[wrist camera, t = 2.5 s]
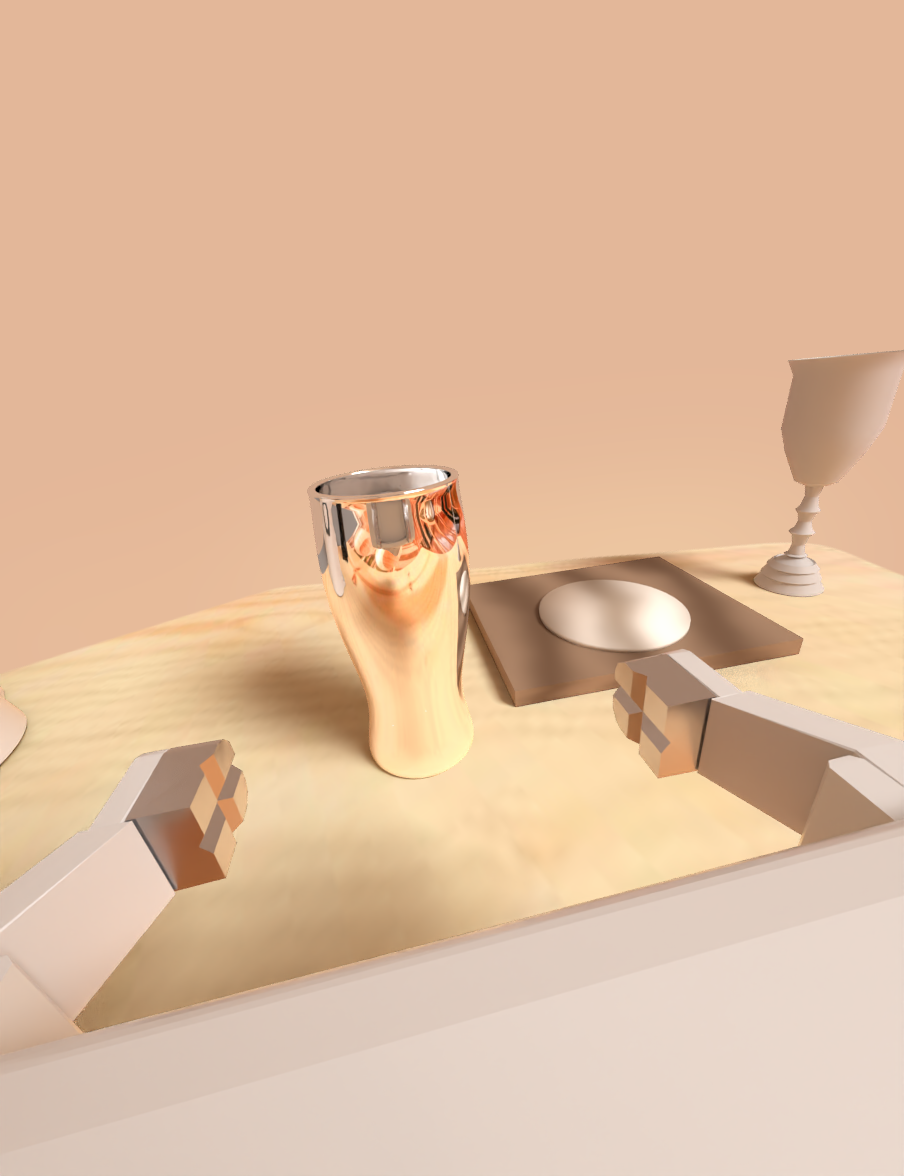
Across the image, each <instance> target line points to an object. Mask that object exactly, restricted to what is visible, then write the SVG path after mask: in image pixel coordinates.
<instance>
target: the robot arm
mask: <svg viewBox="0 0 904 1176" xmlns="http://www.w3.org/2000/svg"><path fill="white" fill-rule="evenodd" d="M614 679H615V680H616V681H617V682H618V683H619V685H620V687H619V688H618V689H617V691H616V692H615V694H614V695H613V710H614V714H615V718H616V721H617V723H618V725H619V727H620V729H621V731H622V732H623V733H624V735H625V736H626V737H627V738H628V739H630V740H632V741H634V742H636V743H638V744H640V745H639V755H640V756H641V757H642V758H643V760H644V761H645V762H646V764H647V765H648V766H649V768H650V769H651V770H652V771H653V773H654V774H655V775H656V777H657V778H662V777H667V776H672V775H677V774H682V773H688V772H693V771H698V772H697V773H699V774H701V775H702V776H704V777H706V778H707V779H709V780H711V781H712V782H714V783H716V784H717V785H719V786H721V787H722V788H724V789H726V790H727V791H729V792H731V793H732V794H734V795H736V796H737V797H739V798H741V799H742V800H744V801H746V802H747V803H749V804H751V805H752V806H754V807H756V808H757V809H759V810H761V811H762V812H764V813H766V814H767V815H769V816H771V817H772V818H774V819H776V820H777V821H779V822H781V823H782V824H784V825H786V826H787V827H789V828H791V829H792V830H794V831H796V832H797V833H799V834H801V835H802V836H801V839H800V842H799V844H798V846H797V847H793V848H790V849H786V850H782V851H778V852H774V853H770V854H767V855H763V856H759V857H755V858H751V859H747V860H744V861H740V862H736V863H732V864H728V865H725V866H721V867H717V868H713V869H709V870H705V871H702V872H698V873H694V874H690V875H686V876H683V877H679V878H675V879H671V880H667V881H664V882H660V883H656V884H652V885H648V886H645V887H641V888H637V889H633V890H629V891H626V892H622V893H618V894H614V895H610V896H607V897H603V898H599V899H595V900H591V901H587V902H584V903H580V904H576V905H572V906H568V907H565V908H561V909H557V910H553V911H549V912H546V913H542V914H538V915H534V916H530V917H527V918H523V919H519V920H515V921H511V922H507V923H504V924H500V925H496V926H492V927H488V928H485V929H481V930H477V931H473V932H469V933H465V934H462V935H458V936H454V937H450V938H446V939H442V940H439V941H435V942H431V943H427V944H423V945H420V946H416V947H412V948H408V949H404V950H400V951H397V952H393V953H389V954H385V955H381V956H377V957H374V958H370V959H366V960H362V961H358V962H354V963H351V964H347V965H343V966H339V967H335V968H332V969H328V970H324V971H320V972H316V973H312V974H309V975H305V976H301V977H297V978H293V979H289V980H286V981H282V982H278V983H274V984H270V985H267V986H263V987H259V988H255V989H251V990H247V991H244V992H240V993H236V994H232V995H228V996H225V997H221V998H217V999H213V1000H209V1001H205V1002H202V1003H198V1004H194V1005H190V1006H186V1007H182V1008H179V1009H175V1010H171V1011H167V1012H163V1013H160V1014H156V1015H152V1016H148V1017H144V1018H140V1019H137V1020H133V1021H129V1022H125V1023H121V1024H117V1025H114V1026H110V1027H106V1028H102V1029H98V1030H95V1031H91V1032H87V1033H83V1031H82V1030H81V1029H80V1028H79V1027H78V1026H77V1025H76V1024H75V1023H74V1022H73V1021H74V1020H75V1019H76V1017H77V1016H78V1015H79V1014H80V1012H81V1011H82V1010H83V1009H84V1007H85V1006H86V1005H87V1004H88V1002H89V1001H90V1000H91V999H92V997H93V996H94V995H95V994H96V992H97V991H98V990H99V989H100V987H101V986H102V985H103V984H104V982H105V981H106V980H107V979H108V978H109V976H110V975H111V974H112V973H113V971H114V970H115V969H116V968H117V966H118V965H119V964H120V963H121V961H122V960H123V959H124V958H125V956H126V955H127V954H128V953H129V951H130V950H131V949H132V948H133V946H134V945H135V944H136V943H137V941H138V940H139V939H140V938H141V936H142V935H143V934H144V933H145V931H146V930H147V929H148V928H149V926H150V925H151V924H152V923H153V922H154V920H155V919H156V918H157V917H158V915H159V914H160V913H161V912H162V910H163V909H164V908H165V907H166V905H167V904H168V903H169V902H170V900H171V899H172V898H173V897H174V895H175V891H178V890H182V889H185V888H189V887H193V886H197V885H201V884H205V883H209V882H212V881H216V880H220V879H224V878H226V876H227V873H228V870H229V866H230V863H231V860H232V857H233V853H234V850H235V847H236V843H237V842H236V840H235V838H234V836H233V833H232V832H233V831H234V830H235V829H236V828H237V827H238V826H239V825H240V824H241V823H242V822H243V820H244V816H245V813H246V809H247V796H248V790H247V785H246V780H245V777H244V774H243V772H242V770H240V769H238V768H237V767H235V766H233V765H231V764H232V761H233V758H234V755H235V753H234V751H233V749H232V746H231V744H230V742H229V741H227V740H224V739H222V740H216V741H210V742H205V743H199V744H193V745H187V746H181V747H176V748H171V749H166V750H160V751H155V752H149V753H144V754H142V755H140V756H138V757H137V758H135V760H134V761H133V762H132V764H131V766H130V767H129V769H128V770H127V772H126V773H125V775H124V776H123V778H122V779H121V781H120V782H119V784H118V785H117V787H116V788H115V790H114V791H113V793H112V794H111V796H110V797H109V799H108V801H107V802H106V804H105V805H104V807H103V808H102V810H101V811H100V813H99V814H98V816H97V817H96V819H95V820H94V822H93V823H92V825H91V826H90V828H89V829H88V830H85V831H81V832H78V833H76V834H75V835H74V836H73V837H71V838H70V839H69V840H67V841H66V842H65V843H63V844H62V845H61V846H60V847H58V848H57V849H56V850H54V851H53V852H52V853H50V854H49V855H48V856H47V857H45V858H44V859H43V860H41V861H40V862H39V863H37V864H36V865H35V866H34V867H32V868H31V869H30V870H28V871H27V872H26V873H24V874H23V875H22V876H21V877H19V878H18V879H17V880H15V881H14V882H13V883H11V884H10V885H9V886H8V887H6V888H5V889H4V890H2V891H1V892H0V1176H904V741H902V740H899V739H896V738H893V737H890V736H887V735H884V734H880V733H877V732H874V731H871V730H868V729H865V728H862V727H859V726H856V725H853V724H850V723H847V722H844V721H841V720H838V719H834V718H831V717H828V716H825V715H822V714H819V713H816V712H813V711H810V710H807V709H804V708H801V707H798V706H795V705H792V704H788V703H785V702H782V701H779V700H776V699H773V698H770V697H767V696H764V695H761V694H758V693H755V692H752V691H746V692H742V691H740V690H739V689H738V688H737V687H735V686H734V685H733V684H732V683H730V682H729V681H728V680H726V679H725V678H724V677H723V676H721V675H720V674H719V673H717V672H716V671H715V670H714V669H712V668H711V667H710V666H708V665H707V664H706V663H705V662H703V661H702V660H701V659H699V658H698V657H697V656H696V655H694V654H693V653H692V652H690V651H688V650H685V649H680V650H675V651H671V652H666V653H662V654H661V655H655V656H650V657H645V658H640V659H635V660H630V661H625V662H620V663H618V664H617V666H616V669H615V678H614ZM26 725H27V719H26V716H25V714H24V713H23V712H22V711H21V710H20V709H18V708H17V707H16V706H14V705H13V704H12V703H10V702H9V701H8V700H6V699H5V698H4V690H3V689H2V688H1V687H0V764H1V763H2V762H3V761H4V760H5V759H6V758H7V757H8V756H9V754H10V753H11V752H12V751H13V750H14V748H15V747H16V746H17V744H18V743H19V741H20V740H21V738H22V736H23V734H24V732H25V729H26Z"/></svg>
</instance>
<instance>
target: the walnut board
mask: <svg viewBox="0 0 904 1176" xmlns="http://www.w3.org/2000/svg"><path fill="white" fill-rule="evenodd" d="M469 608H470V610H471V612H472V614H473V617H474V619H475V621H476V623H477V625H478V627H479V629H480V632H481V634H482V636H483V638H484V640H485V642H486V644H487V647H488V649H489V651H490V653H491V655H492V657H493V659H494V662H495V664H496V666H497V668H498V670H499V672H500V674H501V677H502V679H503V681H504V683H505V685H506V687H507V690H508V692H509V694H510V696H511V698H512V700H513V702H514V705H515V707H518V706H523V705H528V704H534V703H539V702H544V701H549V700H555V699H560V698H565V697H571V696H576V695H581V694H587V693H592V692H597V691H603V690H608V689H613V688H619V687H620V685H619V683H618V682H617V681H616V680H615V679H614V678H615V669H616V666H617V664H618V663H620V662H625V661H630V660H635V659H640V658H645V657H650V656H655V655H661V654H662V653H666V652H671V651H675V650H680V649H685V650H688V651H690V652H692V653H693V654H694V655H696V656H697V657H698V658H699V659H701V660H702V661H703V662H705V663H706V664H707V665H708V666H710V667H711V668H712V669H720V668H725V667H730V666H735V665H741V664H746V663H751V662H757V661H762V660H767V659H773V658H778V657H783V656H789V655H794V654H799V651H800V648H801V645H802V642H803V638H802V637H800V636H798V635H796V634H794V633H793V632H791V631H789V630H787V629H786V628H784V627H782V626H780V625H779V624H777V623H775V622H773V621H772V620H770V619H768V618H766V617H764V616H763V615H761V614H759V613H757V612H756V611H754V610H752V609H750V608H749V607H747V606H745V605H743V604H742V603H740V602H738V601H736V600H734V599H733V598H731V597H729V596H727V595H726V594H724V593H722V592H720V591H719V590H717V589H715V588H713V587H712V586H710V585H708V584H706V583H704V582H703V581H701V580H699V579H697V578H696V577H694V576H692V575H690V574H689V573H687V572H685V571H683V570H682V569H680V568H678V567H676V566H674V565H673V564H671V563H669V562H667V561H666V560H664V559H662V558H660V557H654V558H647V559H640V560H634V561H627V562H620V563H614V564H607V565H600V566H594V567H587V568H580V569H574V570H567V571H560V572H554V573H547V574H540V575H534V576H527V577H520V578H514V579H507V580H501V581H494V582H487V583H481V584H474V585H470V601H469Z"/></svg>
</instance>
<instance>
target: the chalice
mask: <svg viewBox="0 0 904 1176" xmlns="http://www.w3.org/2000/svg"><path fill="white" fill-rule="evenodd" d="M789 364H790V367H791V370H792V373H793V379H792V384H791V388H790V392H789V397H788V402H787V405H786V410H785V415H784V419H783V423H782V427H781V430H782V436H783V443H784V449H785V453H786V457H787V460H788V463H789V466H790V469H791V472H792V475H793V478H794V480H795V481H796V482H798V483H800V484H803V485H805V497H804V499H803V500H802V502H801V504H800V506H799V507H797V508H796V511H797V513H798V522H797V523H796V525H795V527H793V528H791V529H790V530H789V532H790V533H791V534H792V545H791V547H790V549H789V550H788V551H786V552H784V554H780V555H776V556H774V557H772V558H771V559H769V560H768V561H767V564H766V565H765V566H764V567H762V569H761V572H760V573H758V574H757V575H756V576H755V577H754V579H753V580H754V582H755V584H757V585H758V586H759V587H761V588H763V589H766V590H768V591H771V592H775V593H778V594H783V595H789V596H800V597H802V596H814V595H819V594H821V593H822V592H824V587H823V585H822V583H821V579H822V577H821V575H820V573H819V570H820V568H819V567H818V565H817V564H816V562H815V561H814V560H812V559H810V558H808V557H807V556H808V555H807V554H806V553H805V544H806V542H807V540H808V538H809V537H810V536H812V535H813V534H815V531H813V529H812V520H813V518H814V517H815V515H816V514H817V513H818V512H820V509H819V507H818V501H819V500H818V499H819V494H820V493H821V491H822V489H823V487H824V486H828V485H831V484H834V483H837V482H839V481H840V480H841V479H842V478H843V477H844V475H845V474H846V473H847V472H848V471H849V470H850V469H851V468H852V467H853V466H854V465H855V464H856V462H858V460H859V459H860V458H861V457H862V456H863V455H864V454H865V453H866V451H867V450H868V449H869V447H870V446H871V445H872V443H873V442H874V441H875V439H876V438H877V436H878V435H879V434H880V432H881V431H882V430H883V428H884V427H885V424H886V421H887V418H888V415H889V412H890V409H891V406H892V403H893V400H894V397H895V394H896V391H897V388H898V384H899V381H900V378H901V375H902V372H903V369H904V350H902V351H889V352H877V353H864V354H853V355H841V356H829V357H818V358H809V359H808V358H807V359H797V360H789Z"/></svg>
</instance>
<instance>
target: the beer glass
mask: <svg viewBox="0 0 904 1176" xmlns="http://www.w3.org/2000/svg"><path fill="white" fill-rule="evenodd" d="M307 492H308V495H309V500H310V506H311V512H312V520H313V528H314V535H315V542H316V548H317V555H318V560H319V565H320V570H321V575H322V581H323V584H324V588H325V592H326V596H327V599H328V603H329V607H330V610H331V612H332V615H333V618H334V620H335V623H336V625H337V628H338V631H339V633H340V636H341V638H342V640H343V642H344V645H345V647H346V649H347V651H348V654H349V656H350V658H351V660H352V662H353V665H354V667H355V669H356V671H357V673H358V676H359V678H360V681H361V683H362V685H363V688H364V691H365V694H366V698H367V702H368V708H369V747H370V752H371V754H372V757H373V758H374V760H375V762H376V763H377V764H378V765H379V766H380V767H381V768H382V769H383V770H385V771H387V772H388V773H390V774H393V775H395V776H399V777H404V778H425V777H430V776H434V775H437V774H440V773H443V772H445V771H447V770H449V769H450V768H452V767H453V766H455V765H456V764H457V763H459V762H460V761H461V760H462V759H463V758H464V757H465V755H466V754H467V753H468V751H469V749H470V747H471V745H472V742H473V737H474V729H473V723H472V719H471V716H470V712H469V709H468V706H467V703H466V700H465V696H464V691H463V684H462V669H463V658H464V649H465V641H466V633H467V624H468V615H469V601H470V565H469V552H468V543H467V534H466V527H465V520H464V514H463V507H462V501H461V496H460V489H459V481H458V472H457V471H456V470H455V469H452V468H449V467H445V466H437V465H402V466H389V467H380V468H372V469H366V470H359V471H354V472H349V473H344V474H340V475H336V476H332V477H329V478H326V479H323V480H320V481H318V482H316V483H314V484H312V485H311V486H310V487H309V488H308V490H307Z"/></svg>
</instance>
